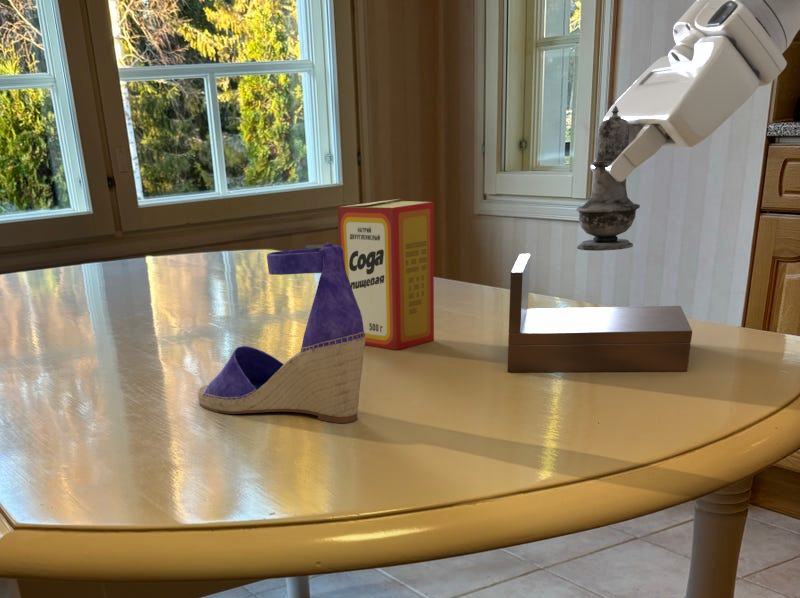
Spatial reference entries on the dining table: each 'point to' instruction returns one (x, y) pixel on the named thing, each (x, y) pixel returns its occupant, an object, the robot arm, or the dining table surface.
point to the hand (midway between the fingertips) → (604, 175)
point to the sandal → (302, 351)
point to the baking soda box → (391, 269)
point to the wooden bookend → (593, 335)
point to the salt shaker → (608, 192)
